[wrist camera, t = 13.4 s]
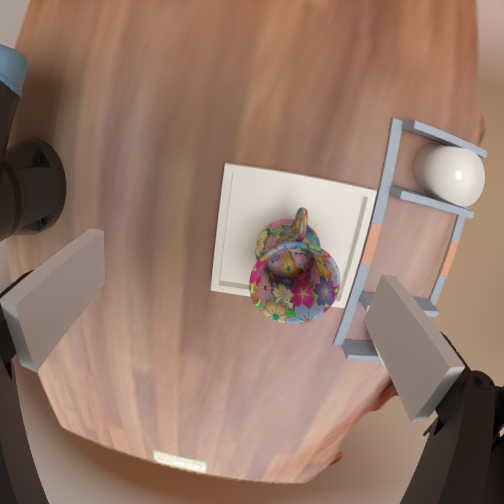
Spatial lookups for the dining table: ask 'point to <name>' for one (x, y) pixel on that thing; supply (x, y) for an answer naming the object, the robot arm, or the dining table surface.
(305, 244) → the mug
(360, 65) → the dining table surface
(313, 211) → the tray
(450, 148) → the white glossy dome
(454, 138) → the rack
